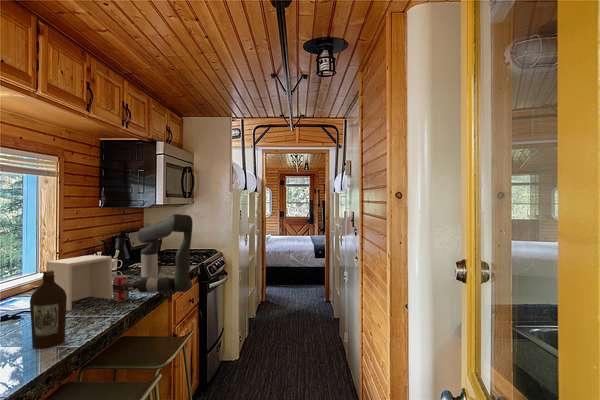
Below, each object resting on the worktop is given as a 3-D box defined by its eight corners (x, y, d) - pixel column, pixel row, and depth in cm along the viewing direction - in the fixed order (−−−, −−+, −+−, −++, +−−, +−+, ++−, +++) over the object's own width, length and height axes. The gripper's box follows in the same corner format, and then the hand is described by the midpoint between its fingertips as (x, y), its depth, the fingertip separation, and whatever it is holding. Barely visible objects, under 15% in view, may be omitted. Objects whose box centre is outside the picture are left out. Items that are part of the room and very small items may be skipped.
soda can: (130, 298, 188) (130, 274, 188) (126, 301, 182) (126, 277, 182) (115, 298, 187) (115, 275, 187) (111, 302, 180) (111, 277, 180)
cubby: (47, 307, 173) (46, 261, 173) (90, 295, 194) (90, 254, 194) (69, 310, 167) (68, 263, 167) (111, 298, 188) (111, 256, 188)
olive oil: (34, 340, 132) (34, 270, 132) (69, 335, 136) (68, 267, 136) (26, 351, 122) (25, 275, 122) (63, 346, 126) (63, 272, 126)
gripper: (155, 274, 192) (123, 274, 191) (144, 280, 178) (110, 280, 177) (155, 288, 192) (123, 289, 192) (144, 296, 178) (110, 296, 177)
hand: (117, 285), depth 184 cm, fingers open, 8 cm apart
